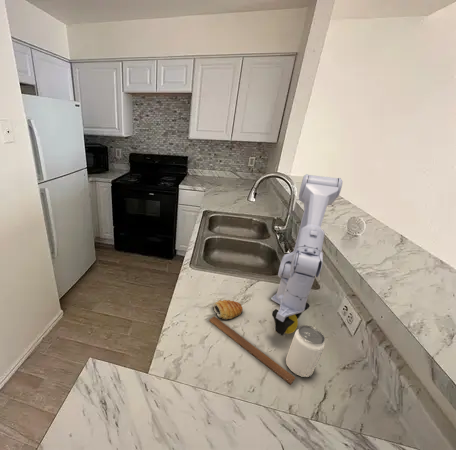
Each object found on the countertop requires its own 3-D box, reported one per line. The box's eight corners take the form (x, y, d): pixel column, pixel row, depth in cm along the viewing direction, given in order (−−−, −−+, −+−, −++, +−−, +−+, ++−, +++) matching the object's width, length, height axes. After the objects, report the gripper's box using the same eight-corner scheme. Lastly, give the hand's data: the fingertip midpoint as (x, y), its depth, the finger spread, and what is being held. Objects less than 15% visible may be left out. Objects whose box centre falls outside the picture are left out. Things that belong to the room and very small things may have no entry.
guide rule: (214, 317, 82) (214, 316, 82) (294, 379, 64) (295, 377, 64) (209, 320, 81) (209, 319, 81) (290, 384, 63) (291, 383, 63)
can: (280, 356, 70) (291, 324, 65) (302, 354, 70) (315, 323, 65) (294, 379, 64) (307, 346, 59) (318, 377, 65) (333, 344, 59)
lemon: (296, 340, 75) (303, 320, 71) (276, 337, 76) (282, 317, 72) (291, 326, 79) (297, 306, 76) (272, 323, 80) (278, 304, 77)
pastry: (235, 302, 89) (237, 294, 87) (246, 316, 83) (248, 308, 81) (211, 307, 86) (212, 298, 85) (220, 322, 81) (222, 313, 79)
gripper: (294, 274, 77) (284, 307, 83) (270, 294, 69) (260, 329, 75) (319, 286, 73) (306, 321, 78) (296, 309, 64) (283, 346, 70)
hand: (285, 326), depth 76 cm, fingers open, 7 cm apart
